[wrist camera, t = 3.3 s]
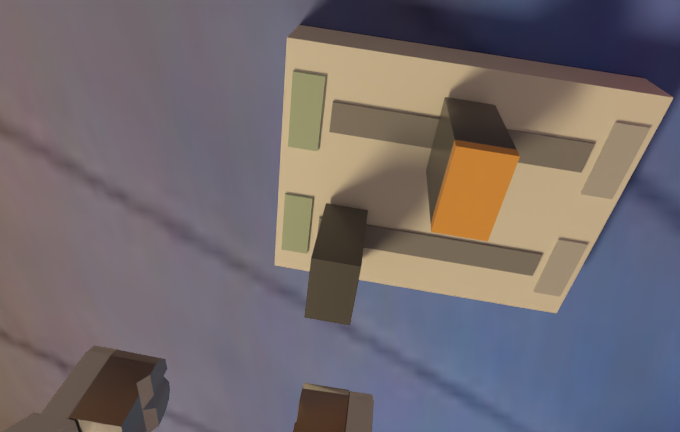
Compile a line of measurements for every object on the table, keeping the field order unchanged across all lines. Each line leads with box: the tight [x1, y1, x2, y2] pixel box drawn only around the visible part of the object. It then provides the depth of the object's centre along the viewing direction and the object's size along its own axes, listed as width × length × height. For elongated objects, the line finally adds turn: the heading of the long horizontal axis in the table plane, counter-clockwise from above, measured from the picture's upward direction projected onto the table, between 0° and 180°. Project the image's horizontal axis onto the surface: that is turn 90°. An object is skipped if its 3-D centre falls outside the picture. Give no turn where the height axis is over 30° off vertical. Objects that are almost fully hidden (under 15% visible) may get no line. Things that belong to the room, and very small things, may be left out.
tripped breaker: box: [426, 97, 520, 241], centre depth 21 cm, size 4×2×6 cm, turn 173°
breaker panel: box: [275, 25, 673, 313], centre depth 26 cm, size 14×18×3 cm
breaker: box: [305, 203, 368, 325], centre depth 25 cm, size 4×2×5 cm, turn 173°
